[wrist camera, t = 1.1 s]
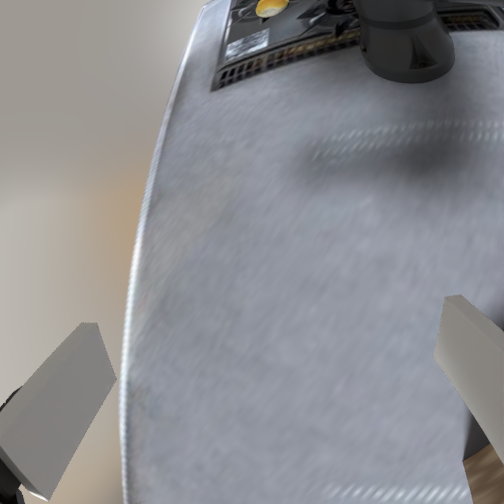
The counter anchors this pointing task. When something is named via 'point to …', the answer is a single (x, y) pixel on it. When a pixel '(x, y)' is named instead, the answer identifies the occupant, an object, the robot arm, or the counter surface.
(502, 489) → the tunnel
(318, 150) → the counter surface
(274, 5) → the bread roll
